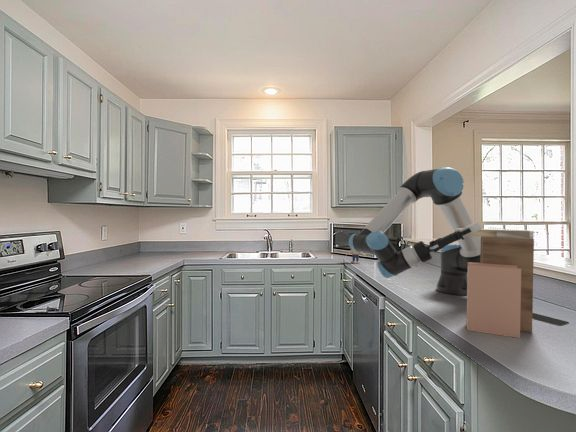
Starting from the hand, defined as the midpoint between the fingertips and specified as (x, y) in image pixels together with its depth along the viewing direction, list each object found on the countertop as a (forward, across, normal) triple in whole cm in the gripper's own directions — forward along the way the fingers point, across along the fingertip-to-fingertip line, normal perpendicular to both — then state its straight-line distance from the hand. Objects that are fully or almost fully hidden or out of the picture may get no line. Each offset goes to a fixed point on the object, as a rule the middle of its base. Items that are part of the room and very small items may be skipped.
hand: (479, 225), depth 114 cm
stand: (-10, 0, -33) cm, 35 cm away
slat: (+1, 0, -5) cm, 5 cm away
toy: (-80, -108, +7) cm, 135 cm away
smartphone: (+1, -14, -40) cm, 43 cm away
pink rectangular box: (-14, +9, -31) cm, 35 cm away
